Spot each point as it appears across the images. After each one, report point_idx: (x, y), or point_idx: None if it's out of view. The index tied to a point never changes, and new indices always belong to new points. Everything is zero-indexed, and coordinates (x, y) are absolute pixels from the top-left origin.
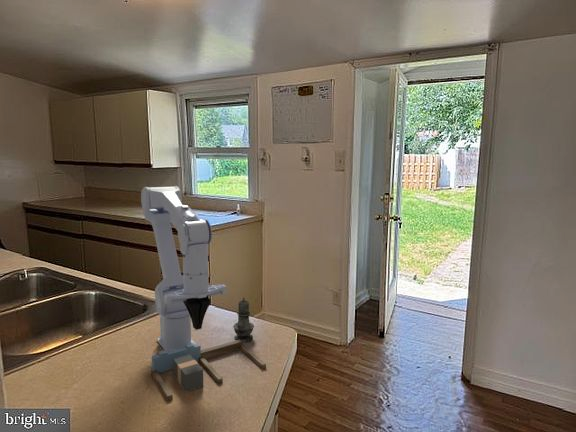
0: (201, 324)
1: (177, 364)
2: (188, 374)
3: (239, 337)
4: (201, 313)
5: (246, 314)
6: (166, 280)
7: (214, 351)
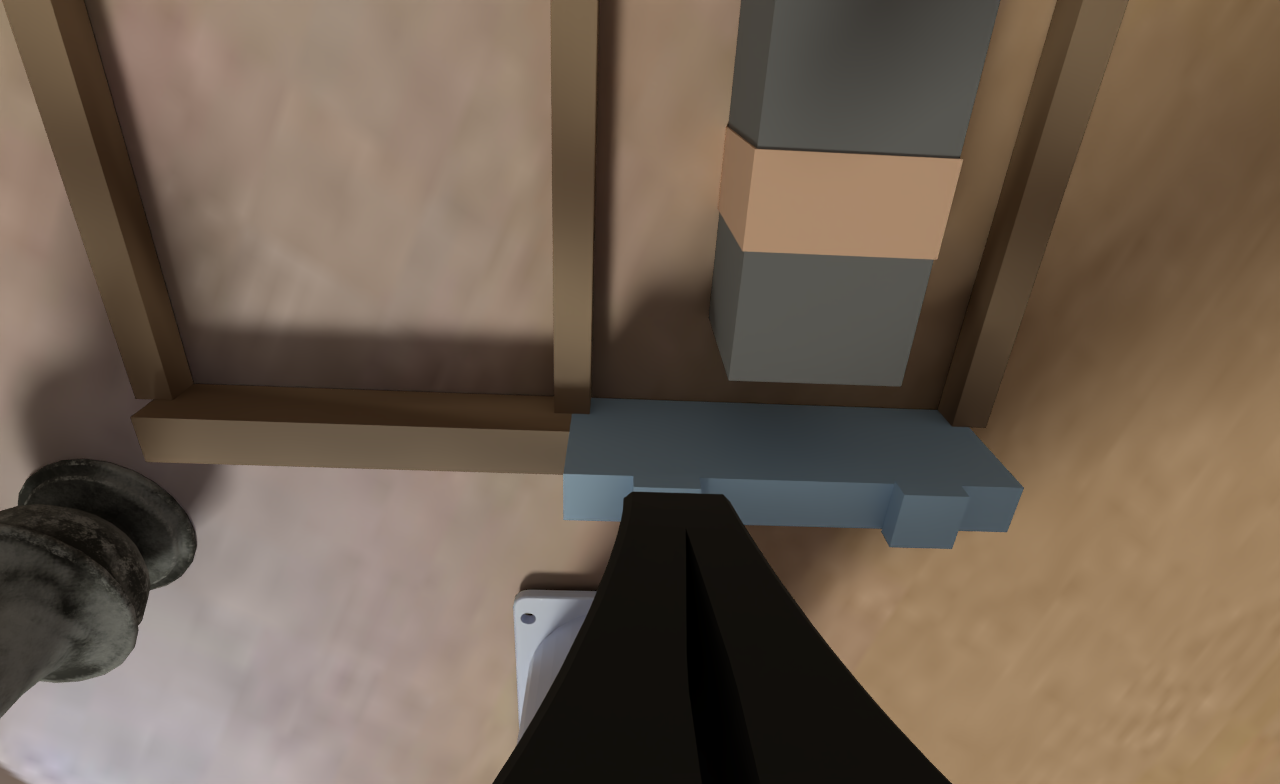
0: (637, 534)
1: (931, 266)
2: None
3: (142, 537)
4: (663, 753)
5: None
6: None
7: (435, 416)
